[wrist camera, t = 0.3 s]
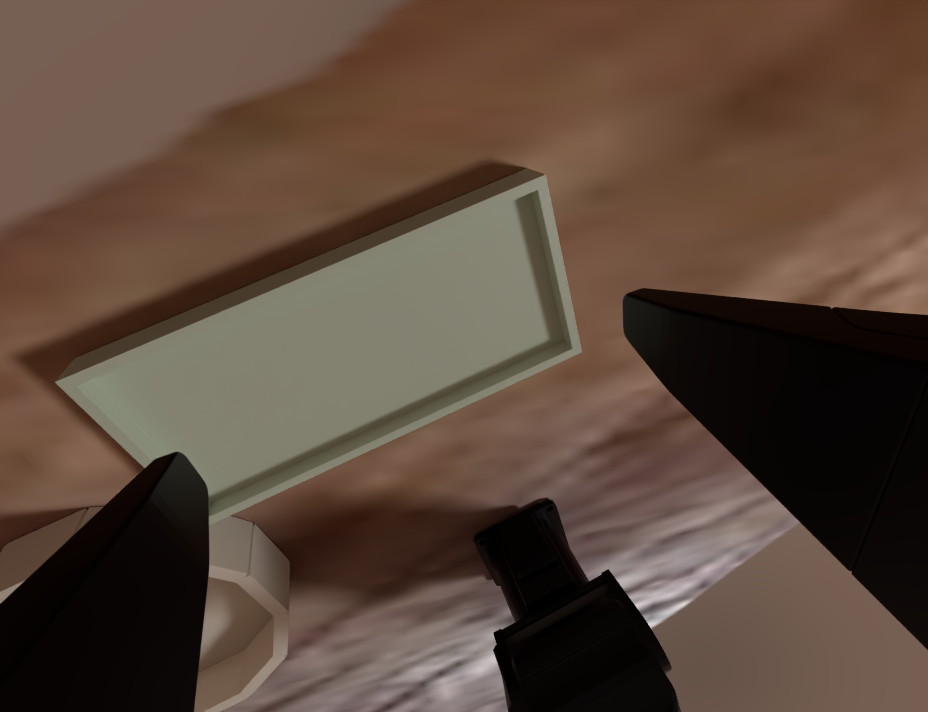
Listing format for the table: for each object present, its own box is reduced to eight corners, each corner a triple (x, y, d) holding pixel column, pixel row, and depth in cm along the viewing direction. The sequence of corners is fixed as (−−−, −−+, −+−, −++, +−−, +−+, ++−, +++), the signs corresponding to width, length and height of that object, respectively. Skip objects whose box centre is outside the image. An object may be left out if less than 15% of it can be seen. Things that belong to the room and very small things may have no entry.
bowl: (330, 604, 33) (334, 654, 30) (115, 710, 32) (96, 773, 29) (194, 459, 24) (180, 509, 21) (-110, 596, 23) (-169, 669, 20)
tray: (564, 336, 28) (581, 352, 26) (211, 498, 26) (205, 526, 24) (527, 168, 22) (545, 174, 21) (74, 358, 20) (54, 382, 19)
